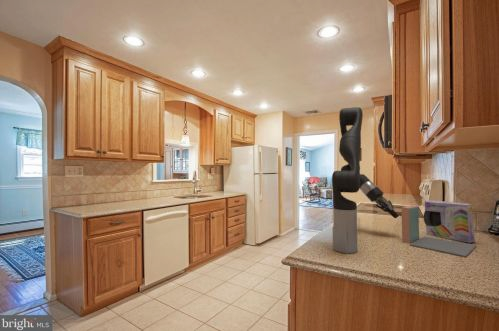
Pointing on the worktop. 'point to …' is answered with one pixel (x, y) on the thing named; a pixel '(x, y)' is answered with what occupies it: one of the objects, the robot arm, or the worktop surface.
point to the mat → (444, 246)
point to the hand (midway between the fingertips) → (397, 217)
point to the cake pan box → (449, 220)
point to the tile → (410, 223)
